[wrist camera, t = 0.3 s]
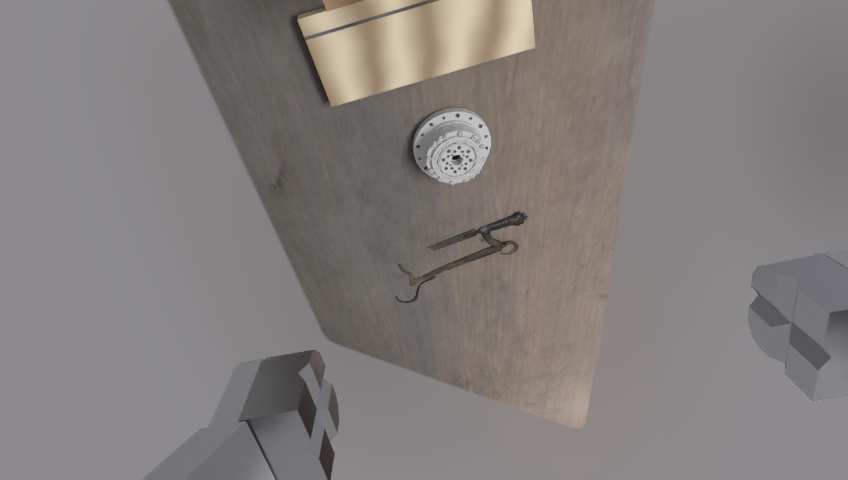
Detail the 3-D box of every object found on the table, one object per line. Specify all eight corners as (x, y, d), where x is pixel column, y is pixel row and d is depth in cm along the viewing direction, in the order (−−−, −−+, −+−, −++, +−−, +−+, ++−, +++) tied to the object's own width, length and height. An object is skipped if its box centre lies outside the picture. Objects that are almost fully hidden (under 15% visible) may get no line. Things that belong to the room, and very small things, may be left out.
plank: (331, 101, 59) (331, 107, 58) (297, 15, 53) (297, 19, 51) (531, 42, 58) (535, 47, 57) (522, -53, 51) (527, -50, 50)
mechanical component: (396, 140, 64) (443, 187, 70) (399, 159, 61) (449, 206, 66) (458, 90, 61) (502, 143, 66) (466, 106, 57) (511, 161, 63)
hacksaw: (523, 206, 74) (526, 212, 73) (538, 253, 81) (541, 259, 80) (374, 264, 78) (375, 270, 76) (400, 304, 84) (401, 310, 83)
